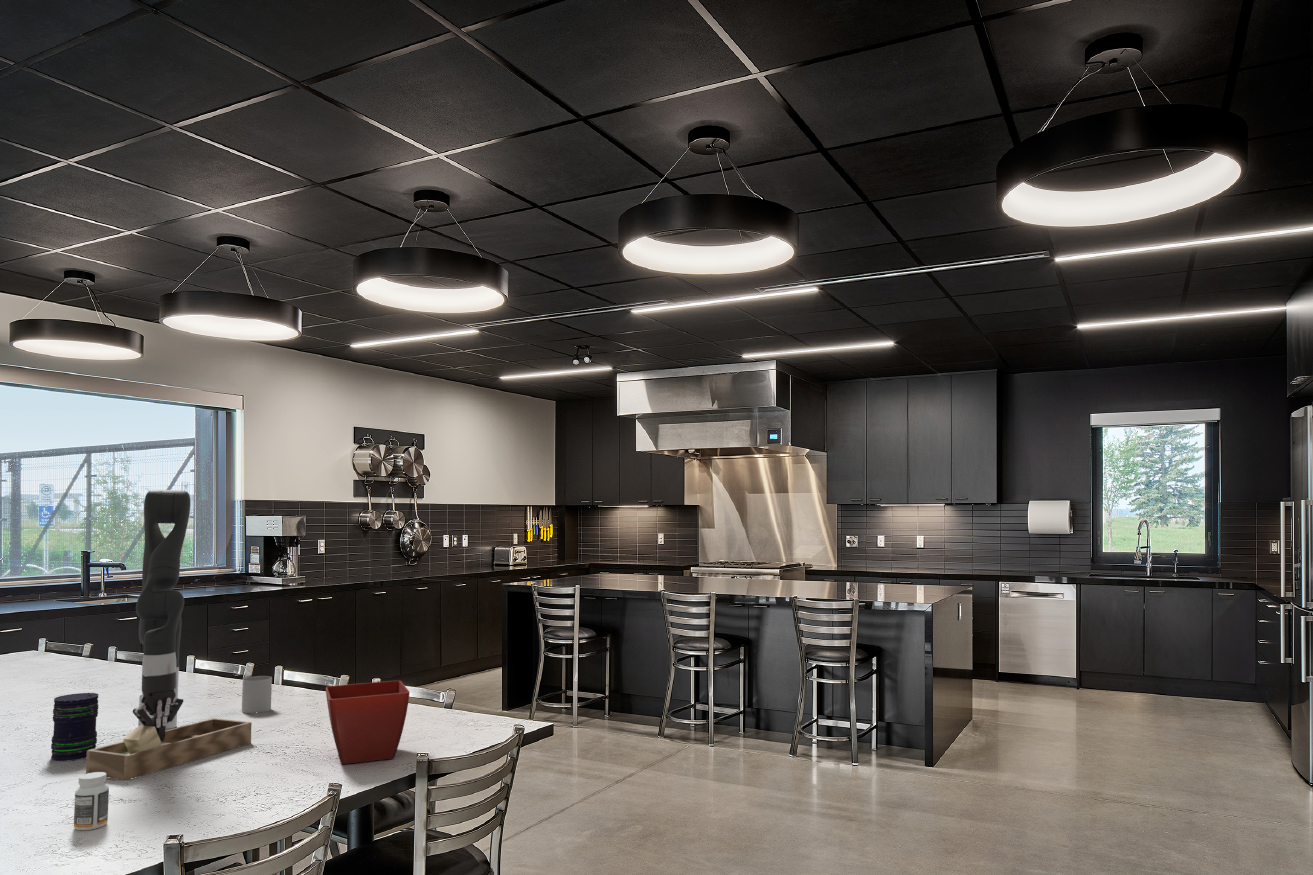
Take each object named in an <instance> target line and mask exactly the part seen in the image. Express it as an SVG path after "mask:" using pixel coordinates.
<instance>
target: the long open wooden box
mask: <svg viewBox="0 0 1313 875" xmlns="http://www.w3.org/2000/svg"><path fill="white" fill-rule="evenodd" d="M161 743H162V744H160V745H159V746H158V747H155V748H152V749H148V750H144V751H141V752H137V753H133V754H129V752H128V749H127V747H126V745H125V742H124V740H122V741H119V742H115V743H110V744H108V745H104V746H99V747H96V748H95V749H91V750H87V758H85V759H86V761H85V763H86V764H85V774H88V773H94V772H105V773H106V775H107V777H110V778H109V779H114V778H117V779H116V780H120V779H121V781H126V780H127V781H130V780H132V779H131V778H133V779H136V778H135V777H137V778H140V777H143V776H146V774H147V775H149V774H152V772H153V773H157V772H159V770H160V771H163V770H166V768H167V769H169V768H173V767H176V766H175V765H177V766H180V765H182V764H186V763H189V761H190V762H193V761H197V760H200V759H202V758H207V757H209V756H208V755H210V756H212V755H211V754H213V755H216V754H215V753H217V754H219V752H220V753H223V752H226V750H227V751H229V750H228V749H230V750H232V748H233V749H236V747H237V748H239V746H240V747H243V746H246V745H249V743H250V744H251V743H252V721H251V722H250V721H242V720H233V719H227V718H226V719H224V718H217V717H214V718H213V717H212V718H209V719H205V720H200V721H198V722H192V723H190V724H186V725H183V726H182V725H181V726H178V727H177V726H176V727H175V728H172V729H168V730H165V738H164V741H162V742H161ZM222 751H223V752H222ZM206 756H207V757H206ZM199 758H200V759H199ZM196 759H197V760H196ZM179 764H180V765H179ZM172 766H173V767H172ZM156 771H157V772H156ZM139 776H140V777H139Z"/></svg>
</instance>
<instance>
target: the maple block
mask: <svg viewBox="0 0 1313 875" xmlns="http://www.w3.org/2000/svg"><path fill="white" fill-rule="evenodd" d="M122 741H124V742H125V745H126V747H127V749H128V752H129V754H133V753H137V752H141V751H144V750H148V749H152V748H155V747H158V746H159V745H160V744H162V743H161V740H160V738H159V736H158V733H157V731H156V728H155V727H152V726H151V727H150V726H142V725H139V726H138V725H137V727H135V728H134V729H133V730H132V731H130V732H129V733H128V734H126V736H124V737H123V738H122Z"/></svg>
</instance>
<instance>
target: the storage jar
mask: <svg viewBox="0 0 1313 875" xmlns="http://www.w3.org/2000/svg"><path fill="white" fill-rule="evenodd" d="M98 699H99V694H98V693H96V692H80V693H79V692H78V693H72V694H71V693H70V694H69V693H68V694H64V695H60V696H57V697H54V698H53V710H52V714H53V715H52V721H53V734H52V737H51V746H50V749H51V757H50V759H52V760H51V761H54V760H55V761H54V762H68V761H67V760H71V761H77V759H78V760H82V759H81V758H83V759H87V758H86V757H87V750H91V749H95V748H97V742H98V741H97V740H98V738H97V736H98V732H97V717H98V714H99V700H98Z"/></svg>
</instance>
